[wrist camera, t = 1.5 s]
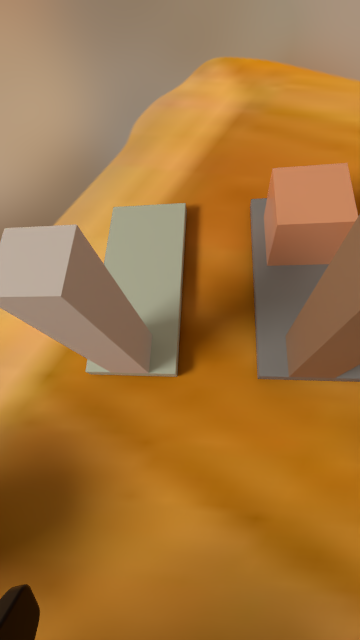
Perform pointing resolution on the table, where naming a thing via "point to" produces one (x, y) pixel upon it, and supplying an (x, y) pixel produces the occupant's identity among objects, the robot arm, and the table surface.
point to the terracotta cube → (308, 214)
